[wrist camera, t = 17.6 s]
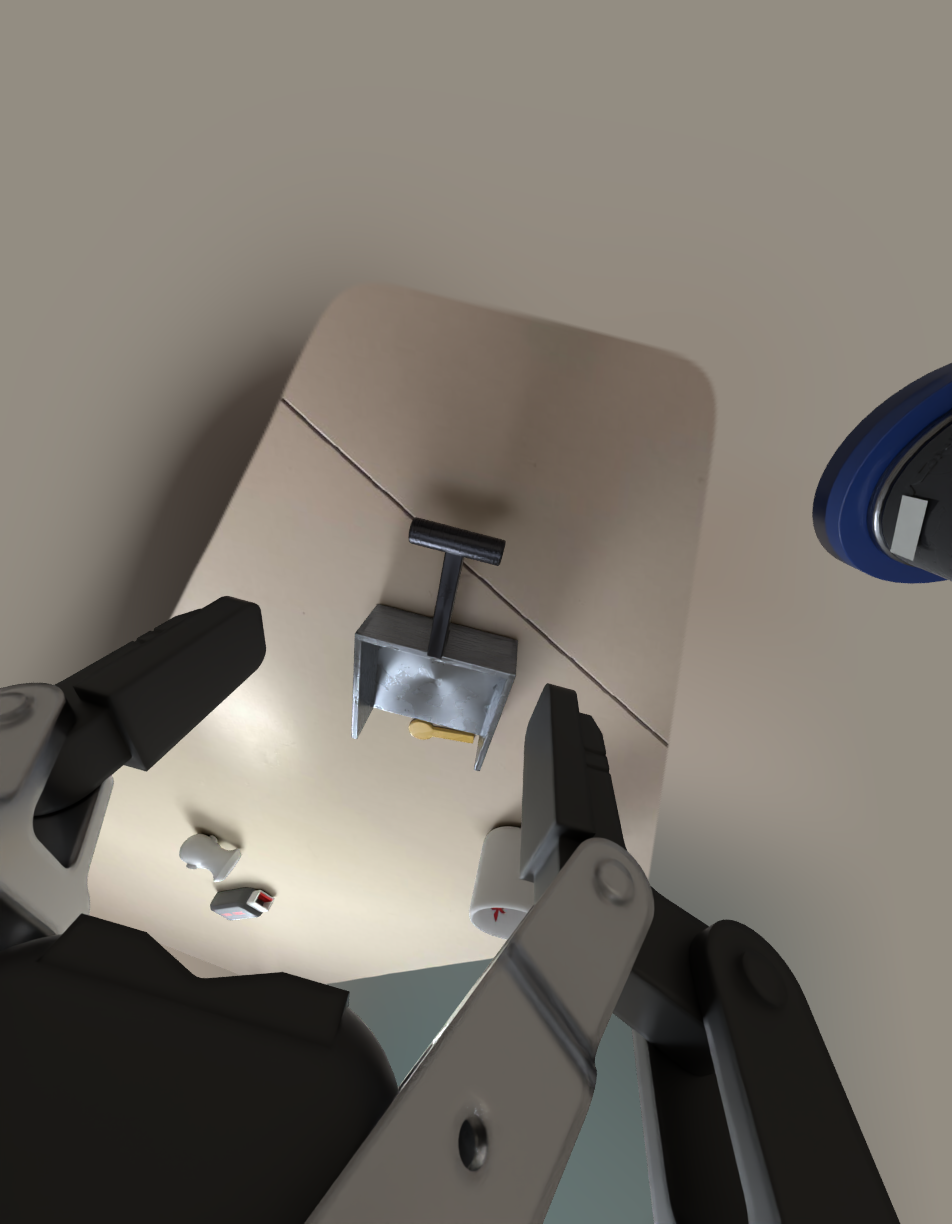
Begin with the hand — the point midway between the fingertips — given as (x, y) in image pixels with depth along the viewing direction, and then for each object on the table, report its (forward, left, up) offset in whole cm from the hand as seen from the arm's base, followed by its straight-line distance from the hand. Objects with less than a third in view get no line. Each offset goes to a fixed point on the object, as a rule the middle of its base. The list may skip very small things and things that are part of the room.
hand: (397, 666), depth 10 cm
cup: (-14, +36, -15) cm, 41 cm away
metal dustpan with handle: (0, +9, -15) cm, 17 cm away
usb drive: (+25, +76, -15) cm, 82 cm away
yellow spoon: (-1, +20, -14) cm, 25 cm away
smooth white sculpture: (+27, +58, -15) cm, 65 cm away
